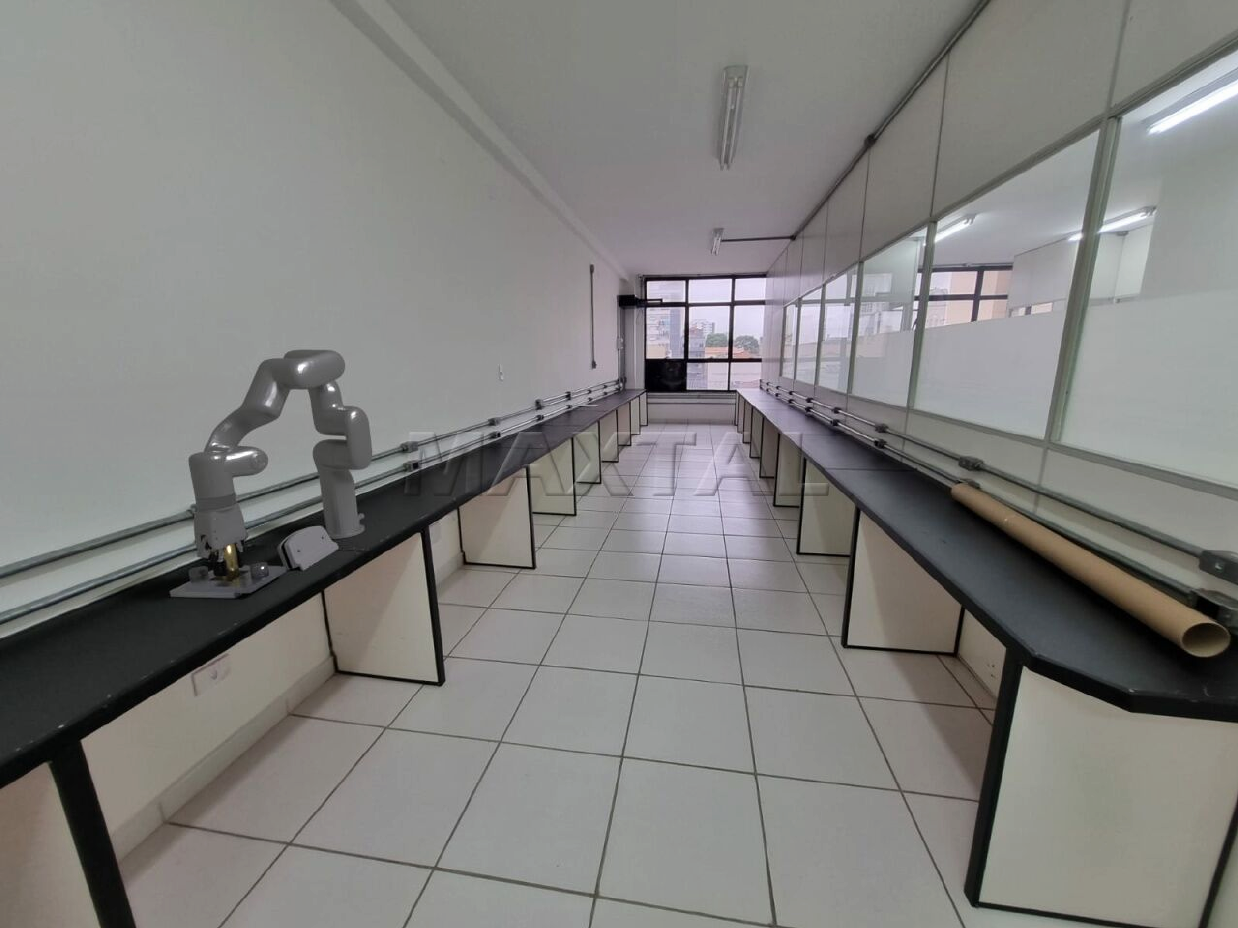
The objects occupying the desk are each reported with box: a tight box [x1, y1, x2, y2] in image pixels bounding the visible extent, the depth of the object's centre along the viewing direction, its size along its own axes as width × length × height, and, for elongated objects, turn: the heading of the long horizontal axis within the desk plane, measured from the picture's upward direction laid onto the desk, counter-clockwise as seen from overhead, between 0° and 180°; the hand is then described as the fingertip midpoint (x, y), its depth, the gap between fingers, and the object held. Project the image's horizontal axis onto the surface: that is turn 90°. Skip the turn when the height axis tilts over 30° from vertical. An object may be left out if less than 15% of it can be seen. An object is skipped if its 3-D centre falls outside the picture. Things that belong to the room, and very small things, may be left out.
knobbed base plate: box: [169, 561, 287, 599], centre depth 120 cm, size 12×20×6 cm, turn 88°
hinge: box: [276, 525, 340, 571], centre depth 137 cm, size 17×5×10 cm, turn 178°
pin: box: [214, 543, 240, 581], centre depth 119 cm, size 4×4×10 cm
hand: (228, 570), depth 120 cm, fingers closed on pin, 4 cm apart
